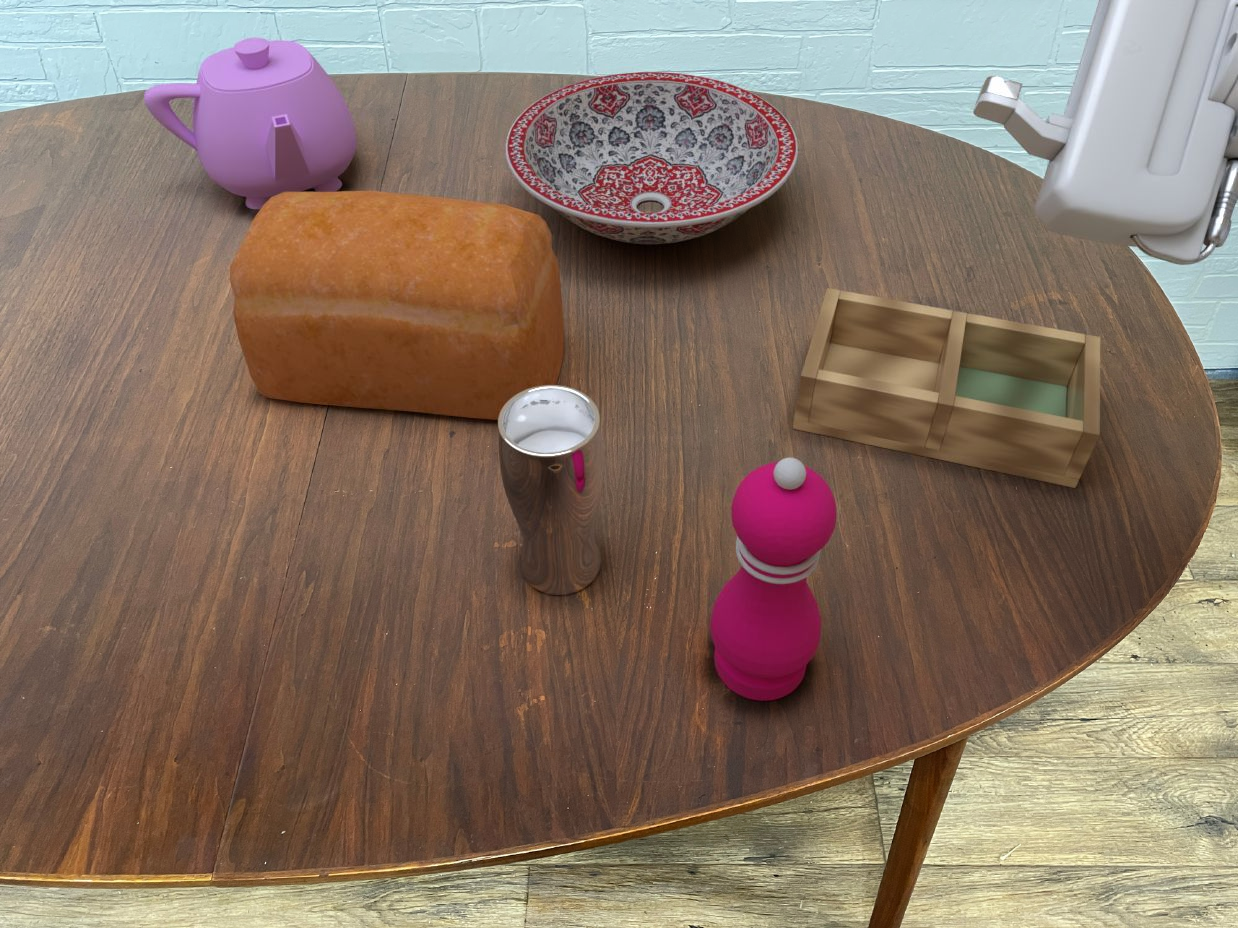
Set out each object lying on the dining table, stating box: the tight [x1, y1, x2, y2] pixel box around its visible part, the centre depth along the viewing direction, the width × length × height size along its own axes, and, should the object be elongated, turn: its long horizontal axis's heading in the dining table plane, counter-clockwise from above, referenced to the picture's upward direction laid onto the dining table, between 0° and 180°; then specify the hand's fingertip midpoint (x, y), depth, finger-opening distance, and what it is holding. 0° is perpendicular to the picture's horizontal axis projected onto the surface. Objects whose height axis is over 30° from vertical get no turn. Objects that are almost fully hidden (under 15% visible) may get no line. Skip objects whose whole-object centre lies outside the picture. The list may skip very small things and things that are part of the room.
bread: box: [229, 190, 565, 421], centre depth 87 cm, size 14×26×16 cm, turn 82°
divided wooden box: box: [792, 287, 1101, 489], centre depth 86 cm, size 23×12×6 cm, turn 72°
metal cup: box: [497, 384, 605, 596], centre depth 72 cm, size 7×7×15 cm
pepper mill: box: [709, 457, 838, 702], centre depth 64 cm, size 7×7×20 cm
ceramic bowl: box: [504, 71, 799, 245], centre depth 107 cm, size 29×29×8 cm
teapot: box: [143, 37, 358, 210], centre depth 108 cm, size 20×20×15 cm
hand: (1005, 14), depth 55 cm, fingers open, 8 cm apart
